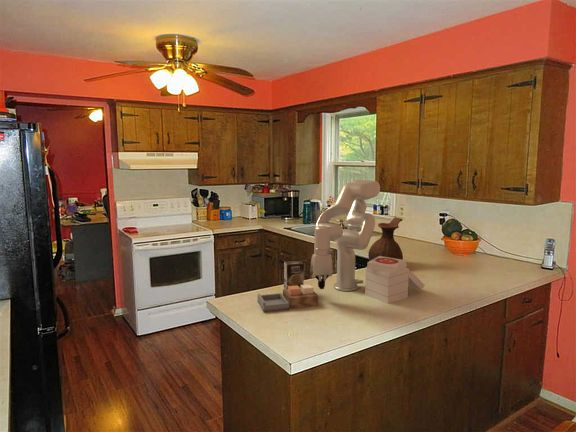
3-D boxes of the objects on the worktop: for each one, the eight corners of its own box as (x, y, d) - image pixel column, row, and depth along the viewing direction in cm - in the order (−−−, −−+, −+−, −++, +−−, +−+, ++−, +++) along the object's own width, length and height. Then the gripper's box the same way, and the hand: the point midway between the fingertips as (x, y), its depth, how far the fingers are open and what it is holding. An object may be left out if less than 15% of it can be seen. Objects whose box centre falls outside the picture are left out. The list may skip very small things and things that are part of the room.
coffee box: (286, 295, 208) (286, 264, 205) (283, 291, 214) (283, 261, 211) (303, 293, 210) (304, 263, 207) (300, 289, 216) (300, 260, 214)
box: (281, 298, 203) (281, 291, 202) (289, 309, 190) (289, 301, 189) (257, 301, 200) (257, 293, 199) (263, 312, 187) (263, 303, 186)
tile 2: (310, 289, 202) (310, 284, 201) (313, 293, 197) (313, 287, 196) (300, 290, 200) (300, 285, 200) (303, 294, 195) (303, 288, 195)
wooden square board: (309, 296, 206) (309, 287, 205) (317, 305, 195) (317, 295, 194) (282, 299, 202) (282, 289, 201) (289, 308, 191) (289, 298, 190)
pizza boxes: (427, 293, 212) (429, 259, 209) (387, 305, 195) (389, 268, 192) (398, 283, 227) (399, 251, 224) (358, 293, 210) (359, 259, 207)
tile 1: (297, 290, 200) (297, 285, 199) (300, 294, 195) (300, 288, 195) (287, 291, 198) (287, 286, 198) (290, 295, 194) (290, 289, 193)
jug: (407, 271, 250) (409, 222, 245) (371, 270, 250) (373, 222, 245) (398, 261, 271) (400, 216, 266) (365, 261, 272) (367, 216, 267)
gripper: (333, 249, 203) (332, 284, 206) (304, 250, 199) (304, 287, 202) (339, 252, 196) (338, 289, 199) (309, 254, 192) (309, 292, 195)
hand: (321, 288), depth 200 cm, fingers closed
